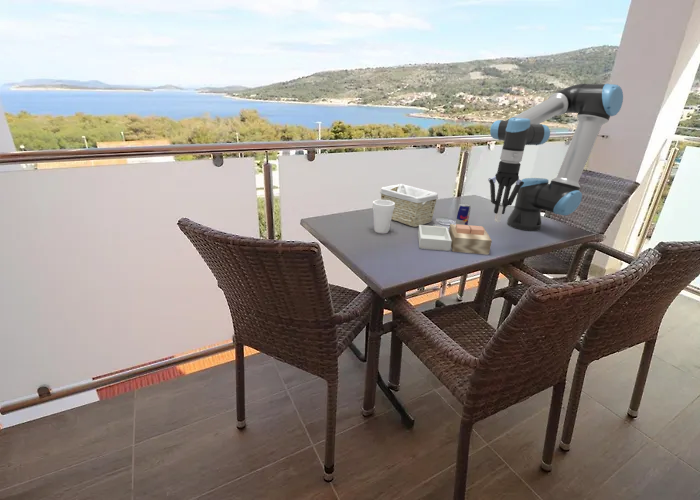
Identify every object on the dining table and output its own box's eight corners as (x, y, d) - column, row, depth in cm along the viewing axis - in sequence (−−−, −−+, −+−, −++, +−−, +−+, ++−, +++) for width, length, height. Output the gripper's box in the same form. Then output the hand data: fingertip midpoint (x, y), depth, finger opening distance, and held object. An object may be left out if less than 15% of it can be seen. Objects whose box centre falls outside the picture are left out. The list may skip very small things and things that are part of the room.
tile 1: (467, 229, 154) (468, 225, 153) (469, 233, 149) (470, 229, 149) (455, 228, 154) (456, 224, 154) (456, 232, 150) (457, 228, 149)
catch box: (445, 236, 162) (447, 227, 160) (450, 251, 147) (451, 240, 146) (417, 234, 163) (419, 224, 161) (419, 248, 149) (420, 238, 147)
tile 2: (481, 230, 153) (482, 226, 153) (483, 235, 149) (484, 230, 148) (468, 229, 154) (469, 225, 153) (470, 234, 149) (471, 229, 148)
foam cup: (395, 229, 168) (397, 201, 163) (388, 236, 160) (390, 207, 155) (375, 225, 171) (377, 198, 166) (367, 232, 164) (369, 203, 158)
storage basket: (376, 215, 186) (379, 186, 180) (398, 210, 196) (400, 182, 190) (414, 229, 170) (418, 198, 164) (435, 222, 180) (439, 192, 174)
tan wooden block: (480, 239, 161) (483, 226, 158) (488, 254, 146) (491, 240, 144) (447, 237, 162) (450, 224, 160) (452, 251, 147) (454, 237, 145)
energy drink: (460, 232, 168) (464, 207, 163) (452, 228, 172) (456, 203, 168) (469, 231, 170) (473, 205, 166) (460, 227, 175) (465, 202, 170)
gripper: (494, 161, 136) (482, 222, 145) (531, 164, 135) (516, 225, 144) (490, 158, 143) (478, 217, 152) (525, 161, 142) (511, 220, 151)
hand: (497, 221), depth 148 cm, fingers closed
